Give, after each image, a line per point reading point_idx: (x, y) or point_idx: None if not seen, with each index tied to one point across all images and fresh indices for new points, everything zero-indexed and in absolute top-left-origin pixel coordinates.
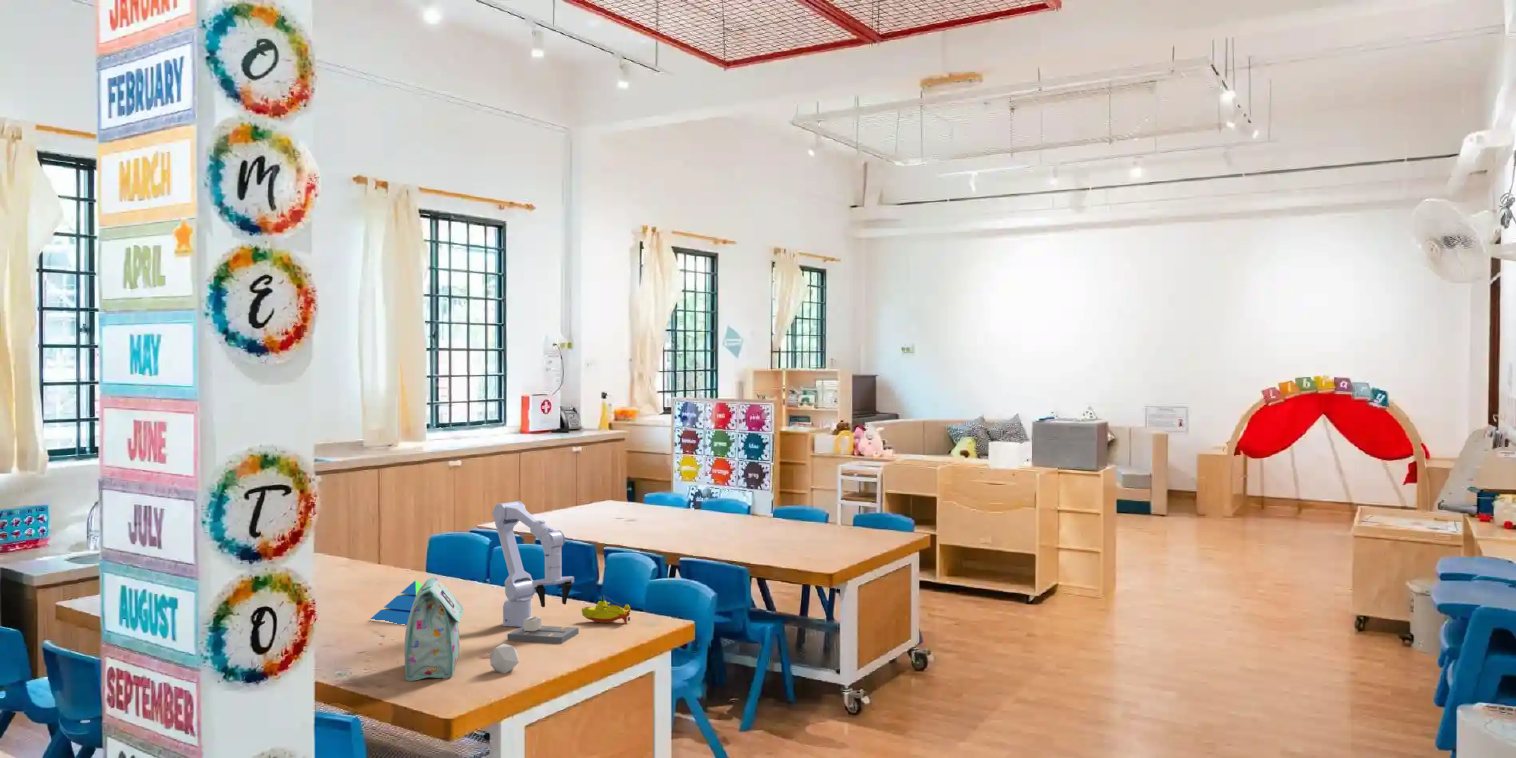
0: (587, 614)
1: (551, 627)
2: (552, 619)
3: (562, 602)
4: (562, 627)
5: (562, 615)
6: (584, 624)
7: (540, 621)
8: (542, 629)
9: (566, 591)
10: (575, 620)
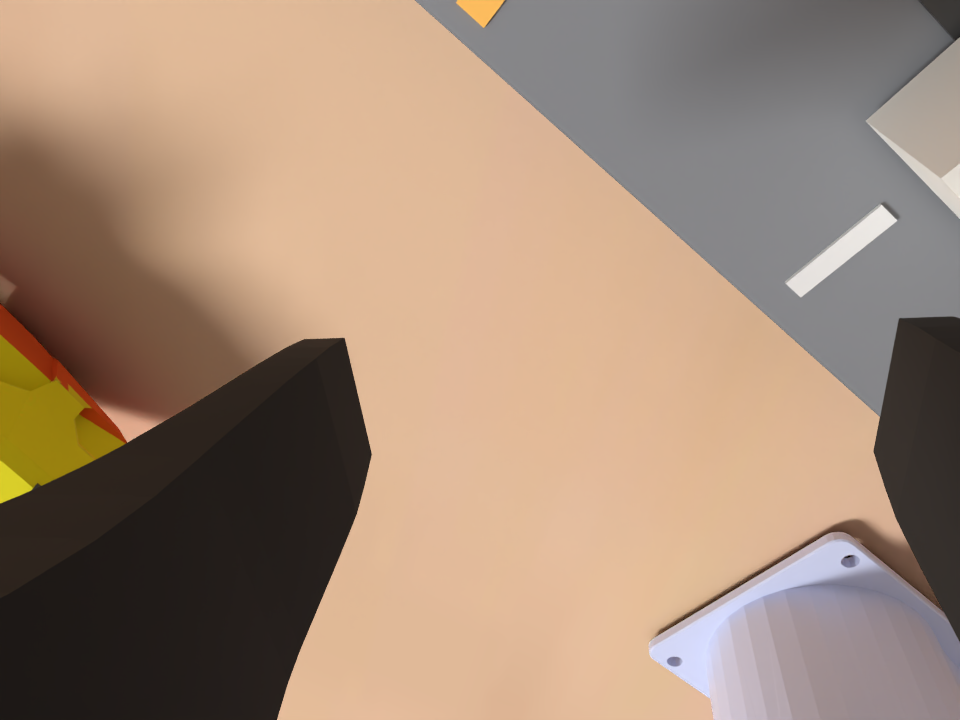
0: (81, 445)
1: (674, 118)
2: (467, 648)
3: (361, 456)
4: (507, 20)
5: (354, 705)
6: (173, 332)
7: (943, 123)
8: (869, 51)
9: (77, 519)
10: None
